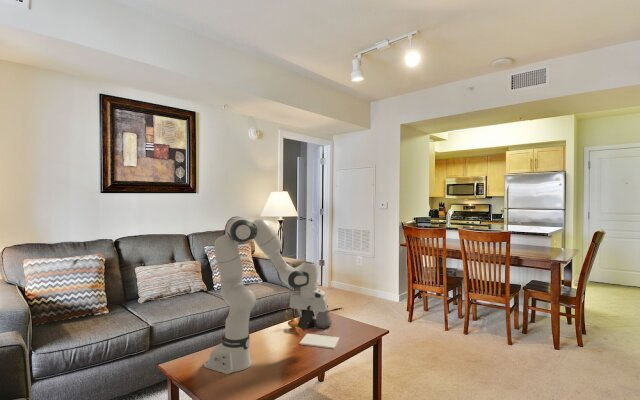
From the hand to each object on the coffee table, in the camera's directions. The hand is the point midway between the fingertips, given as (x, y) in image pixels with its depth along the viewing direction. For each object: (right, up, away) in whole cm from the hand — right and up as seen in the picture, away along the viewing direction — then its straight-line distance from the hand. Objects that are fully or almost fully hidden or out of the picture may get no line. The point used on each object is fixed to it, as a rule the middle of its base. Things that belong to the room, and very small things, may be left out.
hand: (307, 318), depth 179 cm
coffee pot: (+12, -18, +34) cm, 41 cm away
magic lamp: (-9, -18, +29) cm, 36 cm away
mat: (+7, -18, +13) cm, 23 cm away
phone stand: (0, -5, 0) cm, 5 cm away
